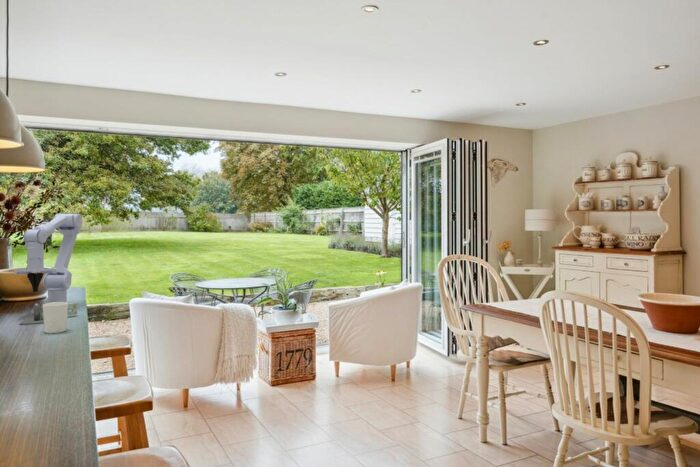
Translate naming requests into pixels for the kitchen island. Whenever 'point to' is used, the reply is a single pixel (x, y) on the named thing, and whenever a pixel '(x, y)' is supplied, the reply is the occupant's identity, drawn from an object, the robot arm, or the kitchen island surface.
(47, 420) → the kitchen island surface
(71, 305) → the pale green slotted bar
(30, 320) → the mat
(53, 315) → the white cup
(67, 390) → the kitchen island surface
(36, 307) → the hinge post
